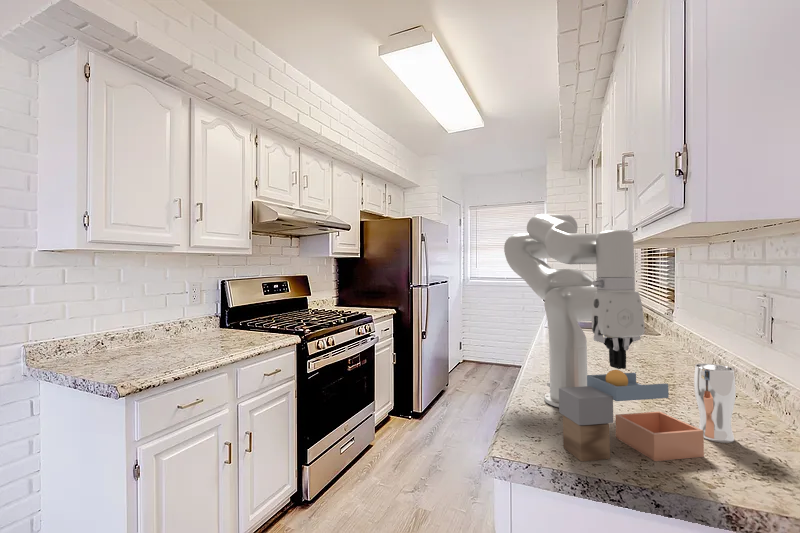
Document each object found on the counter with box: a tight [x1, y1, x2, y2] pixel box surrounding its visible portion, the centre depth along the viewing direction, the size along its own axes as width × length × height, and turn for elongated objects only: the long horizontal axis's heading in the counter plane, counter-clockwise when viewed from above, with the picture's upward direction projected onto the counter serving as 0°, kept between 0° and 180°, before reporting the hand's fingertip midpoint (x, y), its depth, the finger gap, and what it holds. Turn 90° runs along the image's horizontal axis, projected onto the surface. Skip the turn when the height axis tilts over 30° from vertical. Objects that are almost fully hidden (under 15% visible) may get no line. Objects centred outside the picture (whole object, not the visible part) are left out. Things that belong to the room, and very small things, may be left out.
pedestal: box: [562, 415, 611, 462], centre depth 78 cm, size 6×6×7 cm
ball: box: [606, 369, 628, 386], centre depth 79 cm, size 4×4×4 cm
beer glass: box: [693, 362, 737, 444], centre depth 85 cm, size 7×7×15 cm
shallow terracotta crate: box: [615, 410, 705, 462], centre depth 80 cm, size 11×11×5 cm
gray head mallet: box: [558, 372, 670, 425], centre depth 82 cm, size 19×15×7 cm
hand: (617, 367), depth 88 cm, fingers closed
